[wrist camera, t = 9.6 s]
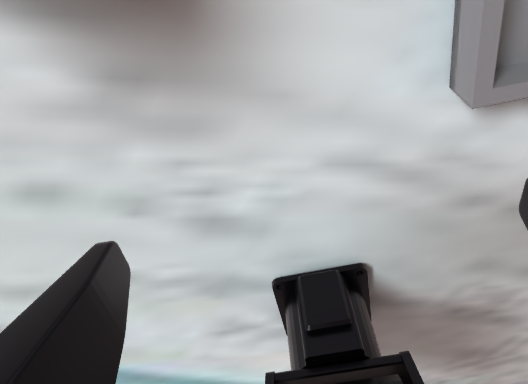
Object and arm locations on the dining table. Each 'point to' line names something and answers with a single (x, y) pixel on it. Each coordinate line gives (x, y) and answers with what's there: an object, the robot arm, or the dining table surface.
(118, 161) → the dining table surface
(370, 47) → the dining table surface
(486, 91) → the tray
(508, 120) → the dining table surface
